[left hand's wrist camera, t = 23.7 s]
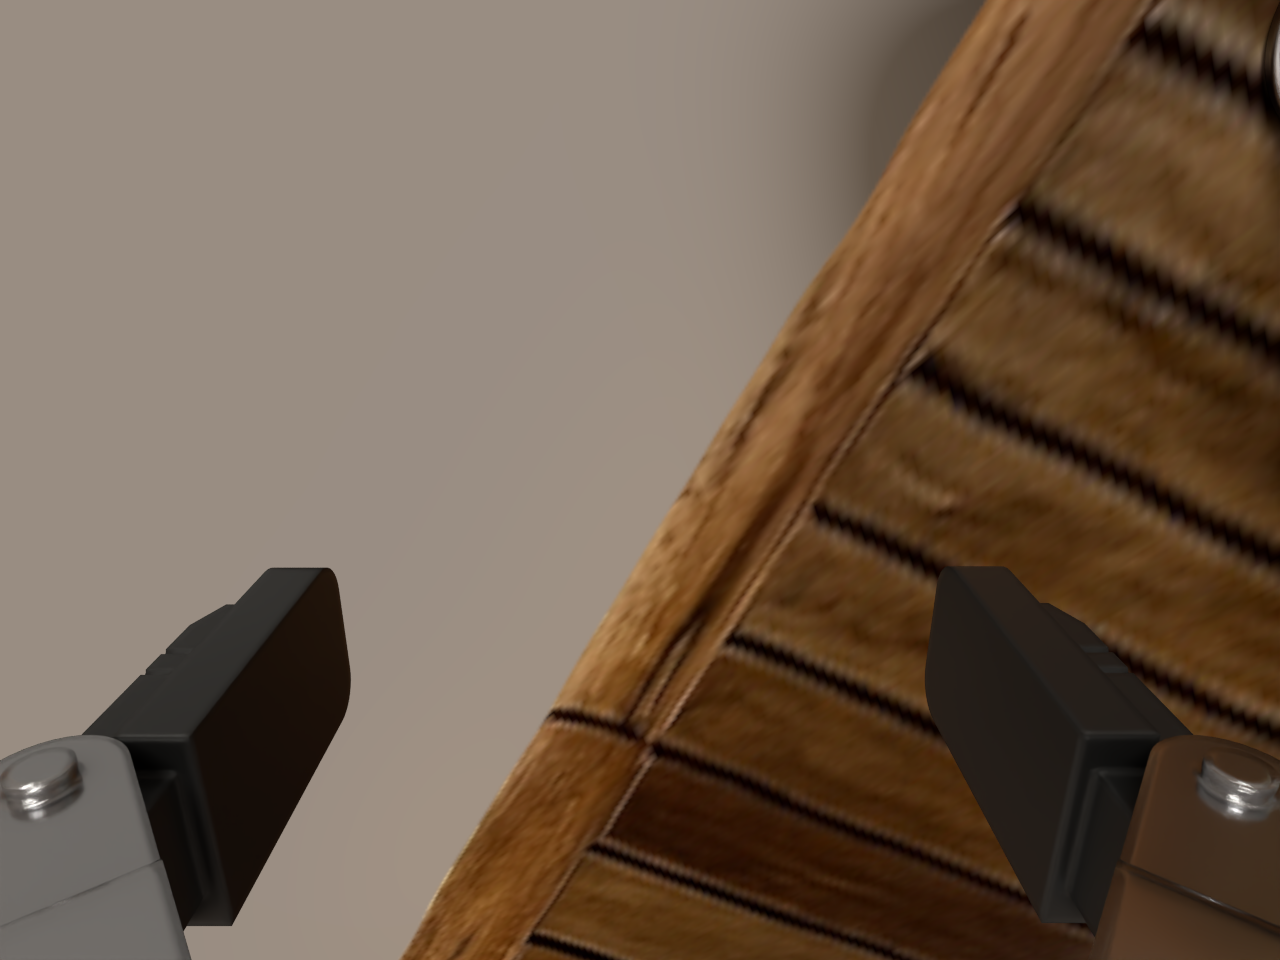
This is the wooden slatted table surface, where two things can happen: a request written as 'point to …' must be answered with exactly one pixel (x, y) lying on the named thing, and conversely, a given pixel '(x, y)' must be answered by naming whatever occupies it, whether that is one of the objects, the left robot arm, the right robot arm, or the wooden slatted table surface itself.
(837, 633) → the wooden slatted table surface
